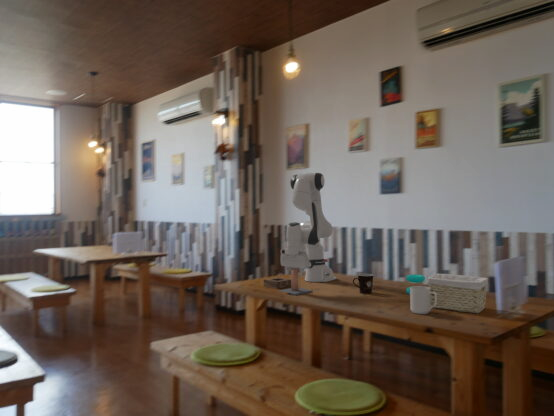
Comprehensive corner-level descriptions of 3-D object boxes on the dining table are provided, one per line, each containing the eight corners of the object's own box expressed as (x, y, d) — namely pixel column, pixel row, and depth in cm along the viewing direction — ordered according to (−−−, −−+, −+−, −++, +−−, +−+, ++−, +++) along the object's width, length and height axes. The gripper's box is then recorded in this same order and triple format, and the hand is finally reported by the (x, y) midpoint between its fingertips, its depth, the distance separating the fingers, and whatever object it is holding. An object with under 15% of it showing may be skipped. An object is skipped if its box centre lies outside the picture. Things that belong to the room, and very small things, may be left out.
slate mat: (295, 288, 267) (295, 287, 267) (312, 292, 256) (312, 290, 256) (277, 292, 258) (277, 290, 258) (294, 295, 247) (294, 293, 247)
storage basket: (489, 308, 211) (489, 276, 211) (480, 315, 198) (480, 281, 198) (437, 302, 225) (437, 272, 225) (426, 308, 212) (426, 277, 212)
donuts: (421, 277, 240) (403, 275, 246) (421, 296, 240) (403, 294, 246) (427, 274, 248) (409, 273, 254) (427, 292, 249) (409, 291, 254)
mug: (407, 312, 205) (406, 288, 204) (415, 308, 211) (414, 285, 211) (433, 316, 197) (432, 291, 197) (440, 312, 204) (440, 288, 203)
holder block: (278, 285, 279) (278, 277, 279) (291, 287, 270) (291, 279, 270) (263, 287, 271) (263, 279, 271) (277, 290, 262) (276, 282, 262)
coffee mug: (372, 291, 256) (372, 273, 256) (374, 294, 247) (374, 276, 247) (352, 291, 257) (351, 273, 257) (353, 294, 248) (352, 276, 248)
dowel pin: (295, 289, 260) (294, 268, 260) (299, 290, 257) (299, 269, 257) (290, 290, 257) (289, 269, 257) (294, 291, 254) (294, 270, 254)
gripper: (311, 251, 251) (311, 276, 251) (286, 249, 266) (286, 272, 267) (303, 252, 247) (303, 277, 247) (278, 250, 262) (278, 274, 262)
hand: (294, 275), depth 257 cm, fingers open, 8 cm apart
